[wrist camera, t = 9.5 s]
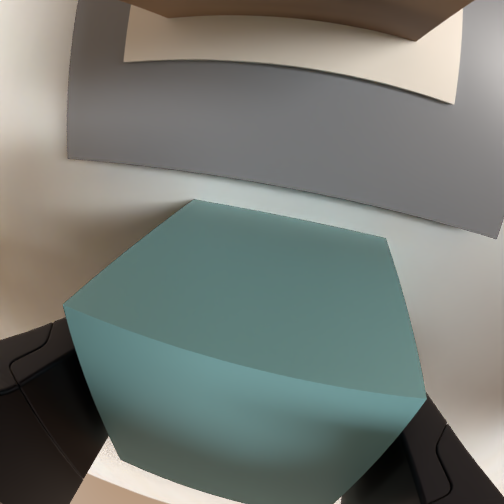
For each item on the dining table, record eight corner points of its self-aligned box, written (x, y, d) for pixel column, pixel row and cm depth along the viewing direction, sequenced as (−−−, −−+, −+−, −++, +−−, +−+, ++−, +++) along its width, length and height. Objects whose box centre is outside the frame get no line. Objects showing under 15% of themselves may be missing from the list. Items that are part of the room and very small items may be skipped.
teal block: (385, 238, 8) (426, 399, 3) (335, 375, 10) (318, 516, 6) (193, 199, 8) (62, 304, 4) (190, 341, 11) (120, 459, 6)
